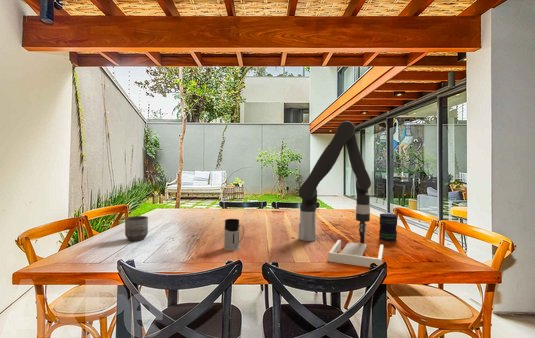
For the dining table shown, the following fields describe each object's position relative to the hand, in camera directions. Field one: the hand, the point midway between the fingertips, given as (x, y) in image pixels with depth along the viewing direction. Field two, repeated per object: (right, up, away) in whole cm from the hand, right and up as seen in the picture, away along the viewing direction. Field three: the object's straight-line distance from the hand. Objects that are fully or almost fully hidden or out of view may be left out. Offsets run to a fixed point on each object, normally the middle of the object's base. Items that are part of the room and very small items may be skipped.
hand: (362, 242), depth 166 cm
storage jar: (+19, -1, +12) cm, 23 cm away
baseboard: (-10, -2, -14) cm, 17 cm away
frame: (-9, -1, -21) cm, 23 cm away
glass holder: (-70, -1, -11) cm, 71 cm away
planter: (-130, 0, +5) cm, 130 cm away
